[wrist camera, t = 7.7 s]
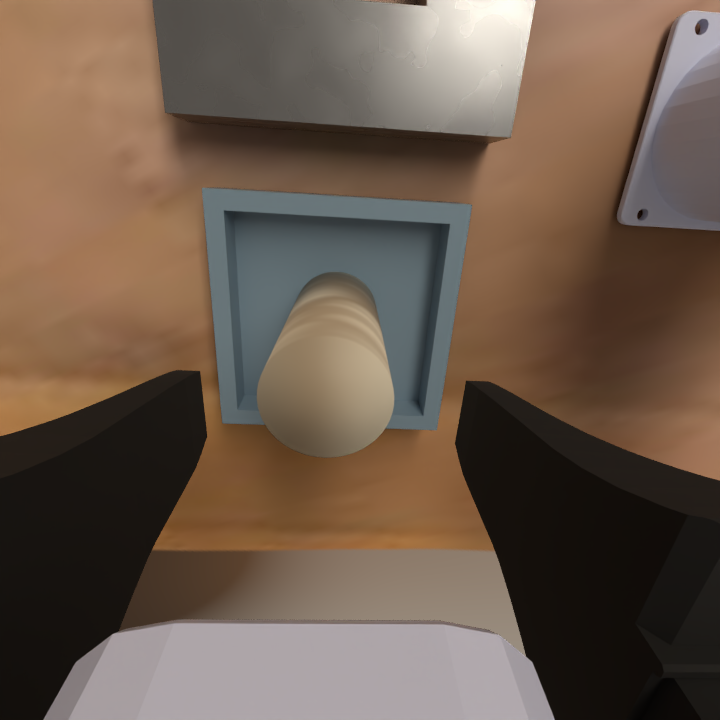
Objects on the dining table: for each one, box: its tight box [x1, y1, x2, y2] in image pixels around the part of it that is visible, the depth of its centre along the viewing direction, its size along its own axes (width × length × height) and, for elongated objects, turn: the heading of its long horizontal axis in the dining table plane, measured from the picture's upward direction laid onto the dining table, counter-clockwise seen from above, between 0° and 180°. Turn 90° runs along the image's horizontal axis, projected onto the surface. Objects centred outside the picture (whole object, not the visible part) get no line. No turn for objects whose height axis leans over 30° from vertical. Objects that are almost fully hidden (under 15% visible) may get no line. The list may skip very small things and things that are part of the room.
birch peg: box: [257, 272, 394, 458], centre depth 16 cm, size 4×4×9 cm
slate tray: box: [202, 188, 472, 430], centre depth 20 cm, size 11×11×2 cm
